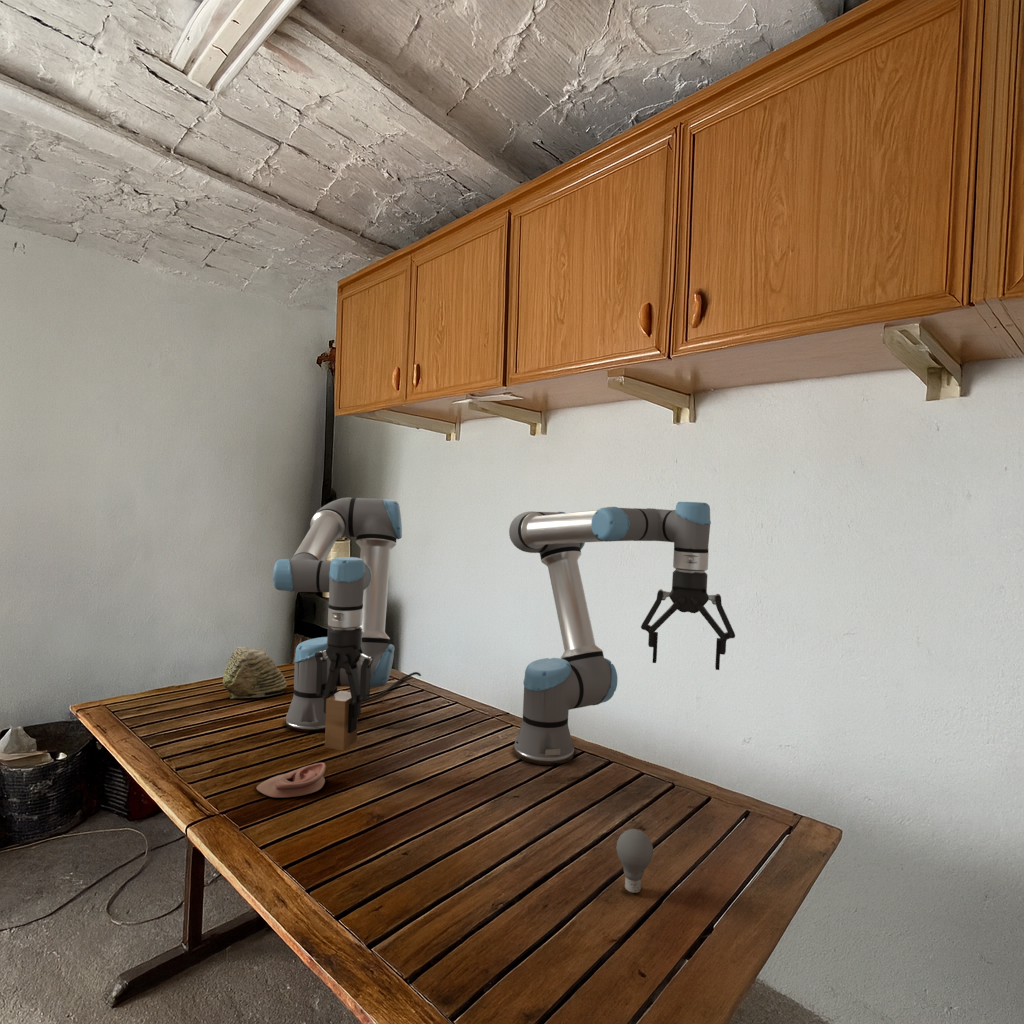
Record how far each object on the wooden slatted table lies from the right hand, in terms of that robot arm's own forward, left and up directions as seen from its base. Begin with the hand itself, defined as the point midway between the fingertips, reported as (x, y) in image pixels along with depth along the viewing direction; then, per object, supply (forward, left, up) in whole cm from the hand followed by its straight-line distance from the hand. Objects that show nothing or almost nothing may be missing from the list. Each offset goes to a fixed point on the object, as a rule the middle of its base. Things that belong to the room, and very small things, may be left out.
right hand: (685, 665), depth 142 cm
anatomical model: (+60, -62, -29) cm, 91 cm away
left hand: (+50, -59, -18) cm, 79 cm away
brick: (+50, -59, -21) cm, 80 cm away
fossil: (+35, -126, -29) cm, 134 cm away
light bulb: (+40, +11, -29) cm, 50 cm away
